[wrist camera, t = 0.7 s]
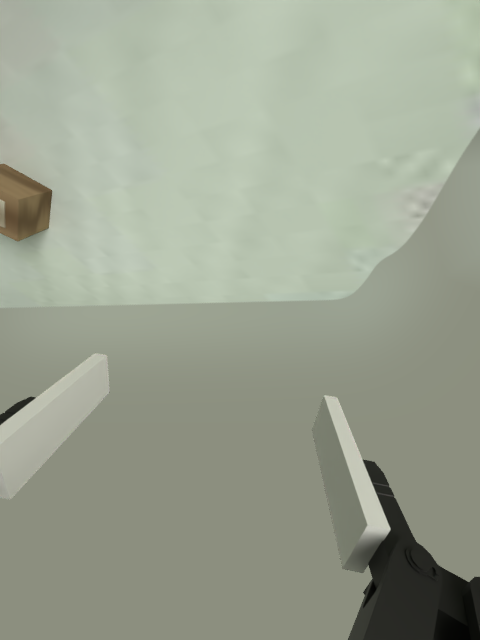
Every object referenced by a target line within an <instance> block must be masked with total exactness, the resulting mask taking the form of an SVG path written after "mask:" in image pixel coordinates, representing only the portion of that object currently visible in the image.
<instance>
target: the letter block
mask: <svg viewBox="0 0 480 640" xmlns="http://www.w3.org/2000/svg"><path fill="white" fill-rule="evenodd" d="M51 198H52V190H51V189H49V188H47V187H45V186H43V185H42V184H40V183H38V182H36V181H34V180H33V179H31V178H29V177H27V176H25V175H24V174H22V173H20V172H18V171H16V170H14V169H13V168H11V167H9V166H7V165H5V164H0V233H1V234H3V235H5V236H8V237H10V238H12V239H14V240H16V241H20V240H22V239H25V238H27V237H29V236H31V235H34V234H36V233H38V232H40V231H43V230H45V229H47V228H49V219H50V208H51Z"/></svg>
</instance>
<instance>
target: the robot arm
mask: <svg viewBox="0 0 480 640" xmlns="http://www.w3.org/2000/svg"><path fill="white" fill-rule="evenodd" d="M109 392H110V391H109V376H108V363H107V355H102V354H97V353H94V354H93V355H92V356H91V357H89V358H88V359H87V360H85V361H84V362H83V363H81V364H80V365H79V366H77V367H76V368H75V369H73V370H72V371H71V372H69V373H68V374H67V375H66V376H64V377H63V378H62V379H60V380H59V381H58V382H57V383H55V384H54V385H52V386H51V387H50V388H48V389H47V390H46V391H45V392H43V393H42V394H41V395H39V396H38V397H37V398H35V397H29V398H27V399H25V400H22V401H20V402H18V403H16V404H15V405H14V406H12V407H11V408H9V409H8V410H7V411H6V412H5V413H3V414H1V415H0V497H1V498H5V499H11V498H12V497H13V496H14V495H15V494H16V493H17V492H18V491H19V489H21V487H22V486H23V485H24V484H25V483H26V482H27V481H28V480H29V479H30V478H31V477H32V475H33V474H34V473H35V472H36V471H37V470H38V469H39V468H40V467H41V466H42V465H43V464H44V462H45V461H46V460H47V459H48V458H49V457H50V456H51V455H52V454H53V453H54V452H55V451H56V449H57V448H58V447H59V446H60V445H61V444H62V443H63V442H64V441H65V440H66V439H67V438H68V437H69V435H70V434H71V433H72V432H73V431H74V430H75V429H76V428H77V427H78V426H79V425H80V424H81V423H82V421H83V420H84V419H85V418H86V417H87V416H88V415H89V414H90V413H91V412H92V411H93V409H94V408H95V407H96V406H97V405H98V404H99V403H100V402H101V401H102V400H103V399H104V398H105V397H106V395H107V394H108V393H109ZM312 433H313V438H314V442H315V447H316V451H317V456H318V460H319V465H320V469H321V474H322V478H323V482H324V487H325V492H326V496H327V501H328V505H329V510H330V515H331V519H332V524H333V528H334V533H335V537H336V542H337V546H338V551H339V555H340V560H341V564H342V568H343V569H346V570H351V571H355V572H360V573H363V572H364V570H365V569H366V567H367V566H368V565H369V568H370V571H371V574H372V578H373V579H372V580H371V582H370V583H369V585H368V586H367V588H366V589H365V591H364V592H363V593H364V594H365V597H364V600H363V602H362V605H361V607H360V610H359V612H358V615H357V618H356V620H355V623H354V625H353V628H352V631H351V633H350V636H349V638H348V640H480V577H474V578H473V579H472V580H471V581H470V582H467V581H466V580H463V579H462V578H460V577H458V576H456V575H455V574H453V573H451V572H449V571H447V570H445V569H444V568H442V567H440V566H439V565H437V563H436V562H435V560H434V559H433V557H432V556H431V554H430V553H429V552H428V551H427V550H426V549H425V548H423V546H421V545H420V544H418V543H417V542H416V540H415V539H414V537H413V535H412V533H411V531H410V529H409V526H408V524H407V522H406V520H405V518H404V516H403V514H402V511H401V509H400V507H399V505H398V503H397V501H396V499H395V498H394V494H393V492H392V490H391V488H389V484H388V482H387V479H386V477H385V475H384V473H383V472H382V471H381V469H380V468H379V467H378V466H377V465H376V463H375V462H372V461H367V460H362V458H361V455H360V453H359V450H358V448H357V445H356V443H355V440H354V438H353V435H352V433H351V431H350V428H349V426H348V423H347V421H346V418H345V416H344V414H343V411H342V408H341V406H340V404H339V401H338V399H337V397H331V396H326V395H324V397H323V399H322V402H321V406H320V408H319V411H318V414H317V417H316V420H315V423H314V426H313V428H312Z"/></svg>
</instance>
